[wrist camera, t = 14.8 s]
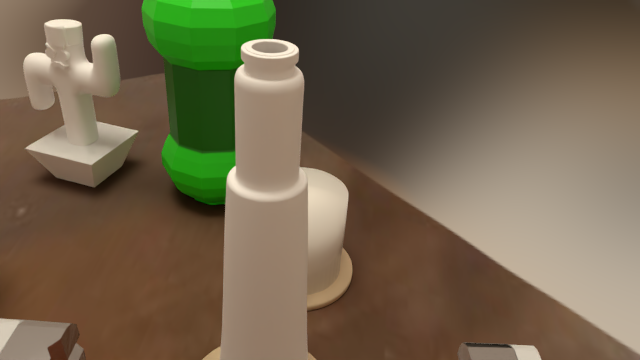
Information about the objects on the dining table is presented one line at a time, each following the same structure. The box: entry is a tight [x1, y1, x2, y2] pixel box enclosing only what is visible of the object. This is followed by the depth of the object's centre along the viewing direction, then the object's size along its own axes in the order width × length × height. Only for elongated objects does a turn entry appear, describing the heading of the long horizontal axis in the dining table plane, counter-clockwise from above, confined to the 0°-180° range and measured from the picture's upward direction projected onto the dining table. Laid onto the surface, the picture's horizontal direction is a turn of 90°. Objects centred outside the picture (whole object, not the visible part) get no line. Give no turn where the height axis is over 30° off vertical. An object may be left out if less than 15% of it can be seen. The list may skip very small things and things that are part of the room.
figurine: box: [23, 19, 138, 188], centre depth 49 cm, size 7×9×15 cm
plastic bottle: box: [142, 0, 276, 205], centre depth 46 cm, size 10×10×25 cm
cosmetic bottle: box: [220, 39, 308, 360], centre depth 26 cm, size 6×6×22 cm
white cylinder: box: [300, 167, 348, 295], centre depth 41 cm, size 7×7×7 cm
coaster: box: [307, 248, 352, 311], centre depth 43 cm, size 9×9×1 cm
